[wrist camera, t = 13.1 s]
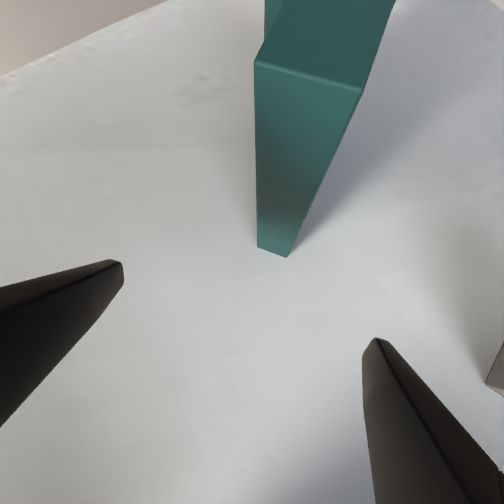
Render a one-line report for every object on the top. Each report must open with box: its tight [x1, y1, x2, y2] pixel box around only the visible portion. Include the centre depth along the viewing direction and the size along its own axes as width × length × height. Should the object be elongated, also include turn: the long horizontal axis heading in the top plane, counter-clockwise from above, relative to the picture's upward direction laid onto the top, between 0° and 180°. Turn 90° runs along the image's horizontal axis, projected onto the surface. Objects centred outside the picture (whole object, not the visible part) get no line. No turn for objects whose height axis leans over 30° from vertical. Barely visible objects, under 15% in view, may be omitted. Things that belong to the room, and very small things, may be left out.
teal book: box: [254, 0, 395, 257], centre depth 12 cm, size 6×2×14 cm, turn 159°
